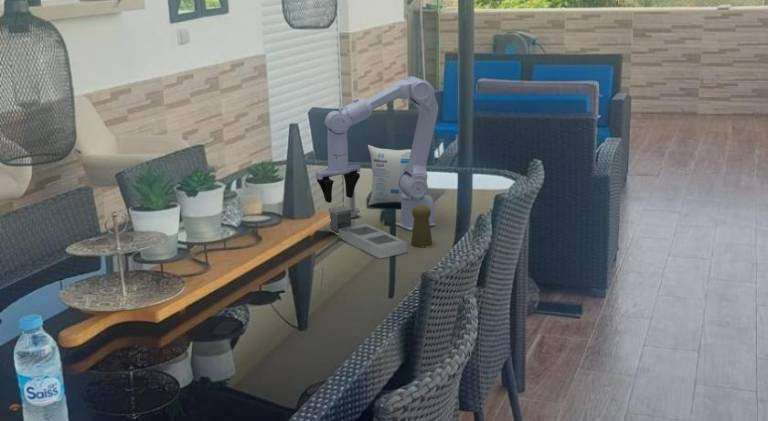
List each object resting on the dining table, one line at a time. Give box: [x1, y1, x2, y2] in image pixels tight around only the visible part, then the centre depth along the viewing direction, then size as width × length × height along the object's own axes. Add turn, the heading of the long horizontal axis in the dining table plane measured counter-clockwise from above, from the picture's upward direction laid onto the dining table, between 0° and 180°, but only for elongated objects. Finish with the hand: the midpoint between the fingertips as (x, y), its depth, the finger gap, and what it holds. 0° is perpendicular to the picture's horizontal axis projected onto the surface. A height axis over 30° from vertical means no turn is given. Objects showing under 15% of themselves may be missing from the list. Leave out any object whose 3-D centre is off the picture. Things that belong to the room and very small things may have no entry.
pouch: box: [367, 144, 411, 206], centre depth 291 cm, size 8×19×20 cm, turn 74°
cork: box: [410, 205, 433, 248], centre depth 254 cm, size 6×6×11 cm
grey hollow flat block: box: [338, 223, 408, 260], centre depth 255 cm, size 9×22×3 cm, turn 32°
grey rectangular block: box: [328, 205, 352, 233], centre depth 267 cm, size 5×5×7 cm
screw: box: [348, 189, 361, 219], centre depth 281 cm, size 13×5×5 cm
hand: (339, 199), depth 263 cm, fingers open, 7 cm apart
